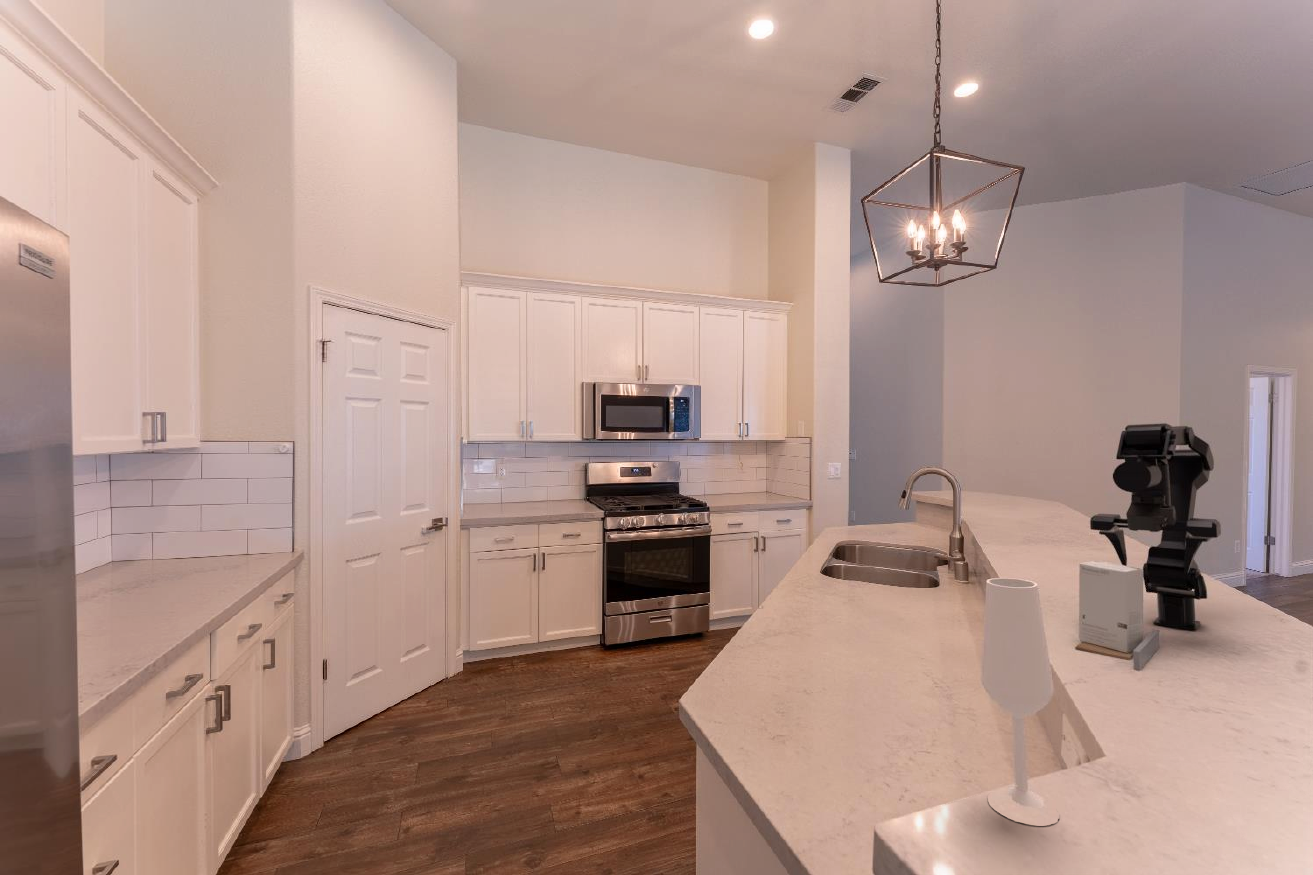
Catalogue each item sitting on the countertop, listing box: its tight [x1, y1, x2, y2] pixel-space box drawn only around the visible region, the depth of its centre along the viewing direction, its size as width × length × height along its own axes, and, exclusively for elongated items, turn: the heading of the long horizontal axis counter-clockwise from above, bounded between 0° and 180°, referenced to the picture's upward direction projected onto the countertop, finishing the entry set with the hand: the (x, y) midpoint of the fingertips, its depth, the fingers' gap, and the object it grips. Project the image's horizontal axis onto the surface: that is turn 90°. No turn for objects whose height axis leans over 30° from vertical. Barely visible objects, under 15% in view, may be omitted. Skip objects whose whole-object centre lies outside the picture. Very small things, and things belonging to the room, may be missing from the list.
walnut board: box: [1074, 641, 1133, 661], centre depth 109 cm, size 11×8×1 cm
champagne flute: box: [980, 577, 1055, 808], centre depth 64 cm, size 7×7×24 cm
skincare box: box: [1078, 560, 1144, 653], centre depth 109 cm, size 8×6×15 cm
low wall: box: [1132, 628, 1161, 671], centre depth 104 cm, size 16×1×3 cm, turn 130°
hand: (1154, 569), depth 114 cm, fingers open, 9 cm apart
